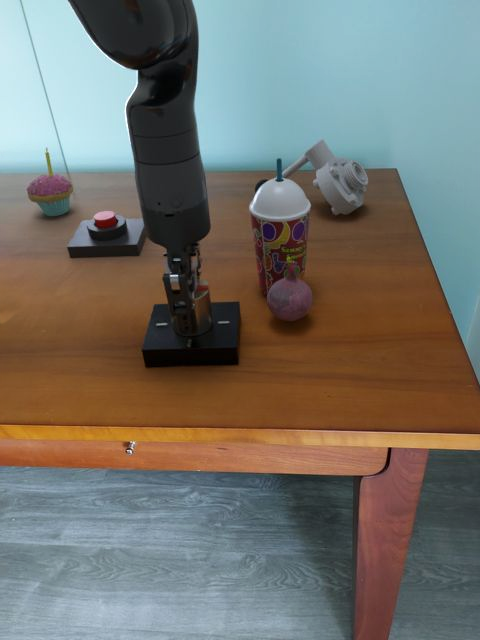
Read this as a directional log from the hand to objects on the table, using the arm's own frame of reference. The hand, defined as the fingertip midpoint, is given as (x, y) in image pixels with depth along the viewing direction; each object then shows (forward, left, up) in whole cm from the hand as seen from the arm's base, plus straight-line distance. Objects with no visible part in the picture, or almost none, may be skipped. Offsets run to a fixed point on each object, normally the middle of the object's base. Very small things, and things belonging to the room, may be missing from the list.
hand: (191, 316), depth 69 cm
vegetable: (+13, +4, -4) cm, 14 cm away
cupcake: (-32, +43, -4) cm, 54 cm away
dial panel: (0, 0, -4) cm, 4 cm away
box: (-18, +29, -4) cm, 34 cm away
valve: (+18, +41, -4) cm, 45 cm away
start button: (-18, +29, -1) cm, 34 cm away
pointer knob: (0, 0, -1) cm, 1 cm away
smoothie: (+12, +12, -4) cm, 18 cm away
